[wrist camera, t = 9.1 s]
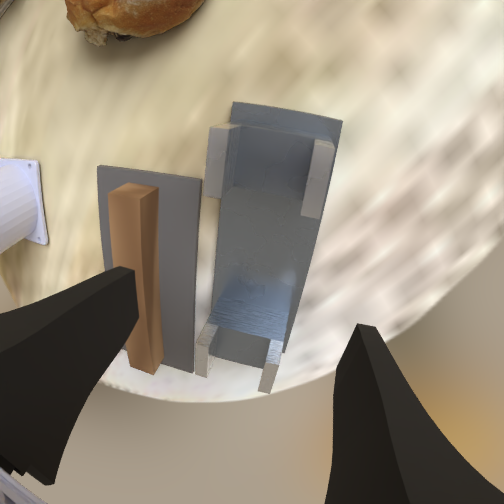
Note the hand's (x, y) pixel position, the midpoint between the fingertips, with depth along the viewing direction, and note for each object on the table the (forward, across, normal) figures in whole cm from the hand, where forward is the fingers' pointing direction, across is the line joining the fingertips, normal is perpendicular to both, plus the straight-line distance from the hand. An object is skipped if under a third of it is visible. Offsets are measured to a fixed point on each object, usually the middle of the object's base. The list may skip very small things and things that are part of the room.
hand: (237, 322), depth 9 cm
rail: (+10, +9, +8) cm, 16 cm away
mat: (+10, +9, +8) cm, 16 cm away
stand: (+10, 0, +2) cm, 11 cm away
